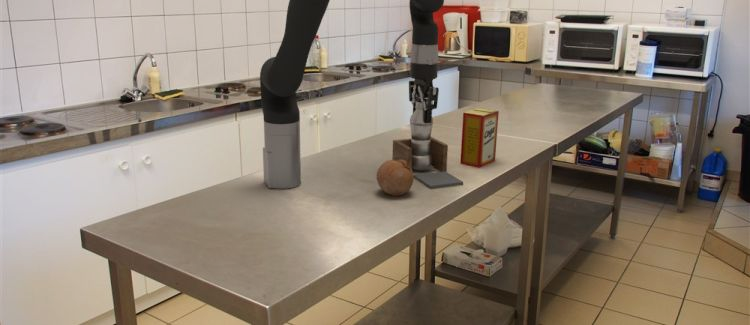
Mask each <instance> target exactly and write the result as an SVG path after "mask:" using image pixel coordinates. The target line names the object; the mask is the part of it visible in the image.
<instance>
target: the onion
mask: <svg viewBox="0 0 750 325" xmlns="http://www.w3.org/2000/svg"><path fill="white" fill-rule="evenodd" d="M414 175H415V174H414V170H413V169H411V168H410V165H409V164H408V163H407V161H406V160H392V159H391V160H389V159H388V160H386V161H384V162H383V163H382V164H380V165H379V167H378V169H377V172H376V182H377V184H378V185H379V187H380V189H381V190H382V191H383V192H384V193H385V194H386V195H390V196H392V197H398V196H402V195H403V194H406V193H407V192H408V191H410V189H411V188H412V186H413V184H414V179H415V178H414Z"/></svg>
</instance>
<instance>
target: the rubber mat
mask: <svg viewBox="0 0 750 325" xmlns="http://www.w3.org/2000/svg"><path fill="white" fill-rule="evenodd" d="M413 175H414V179H415V180H416V181H417V182H419V183H420V184H422V185H423V186H425V187H427V188H428V189H439V188H447V187H448V188H449V187H457V186H463V185H464V181H462V180H461V179H460V178H457V177H456V176H454V175H452V174H450V173H449V172H447V170H446V171H444V172H441V171H437V172H428V173H420V174H413Z"/></svg>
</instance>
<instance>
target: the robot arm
mask: <svg viewBox="0 0 750 325" xmlns="http://www.w3.org/2000/svg"><path fill="white" fill-rule="evenodd" d="M329 3H330V0H289V1H288V5H287V10H286V11H287V12H286V18H285V29H284V34H283V38H282V39H281V43H280V46H279V48H278V51H277V53H276V55H275V56H272V57H270V58H268V59H267V60H265V61H264V63H263V64H262V66H261V68H260V72H259V83H260V84H259V87H260V101H261V102H260V104H261V110H262V115H263V134H264V136H263V137H264V147H262V161H263V162H262V163H263V167H262V168H263V182H264V184H265V185H266V187H268V189H278V190H279V189H281V190H283V189H293V188H295V187H298V186H300V185H301V183H302V171H301V163H302V162H301V121H300V119H301V118H300V117H301V114H300V107H299V105H298V101H297V91H298V90H299V88H300V87H301V84H302V82H303V78H304V74H305V71H306V66H307V62H308V60H309V55H310V52H311V48H312V45H313V43H314V41H315V38H316V37H317V34H318V31H319V29H320V27H321V24H322V21H323V18H324V16H325V13H326V11H327V8H328V6H329ZM444 3H445V0H409V13H410V20H411V24H412V25H411V26H412V33H411V34H412V36H411V50H410V67H409V68H410V70H409V77H410V78H411V79H412V80H409V81H408V101H409V102H411V105H412V114H413V113H414V111H415V110H416V108H415V106H416V101H418V100H421V102H422V103H423V106H424V118H423V122H424V123H425V124H427V123H431V122H432V118H433V110H435V109H437V108H438V102H439V101H438V100H439V92H440V91H439V90H440V89H439V87H437V86H436V87H435V86H434V82H433V80H435V79H437V78H438V72H439V70H438V69H439V68H438V67H439V46H438V44H439V25H438V24H437V23H436V22H435V21H434V13H436V12H438V11H440V10H441V9H442V7H443V6H444ZM413 79H414V80H413Z"/></svg>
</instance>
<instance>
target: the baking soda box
mask: <svg viewBox="0 0 750 325" xmlns="http://www.w3.org/2000/svg"><path fill="white" fill-rule="evenodd" d="M499 113H500V112H499V110H495V109H489V108H483V107H477V108H474V109H471V110H468V111H464V112H463V113H462V128H461V149H460V159H459V161H460V162H459V163H460V165H462V166H463V165H464V166H468V167H473V168H477V169H480V168H483V167H485V166H487V165H490V164H492V163H495V162H496V153H497V136H498V124H499Z"/></svg>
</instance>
